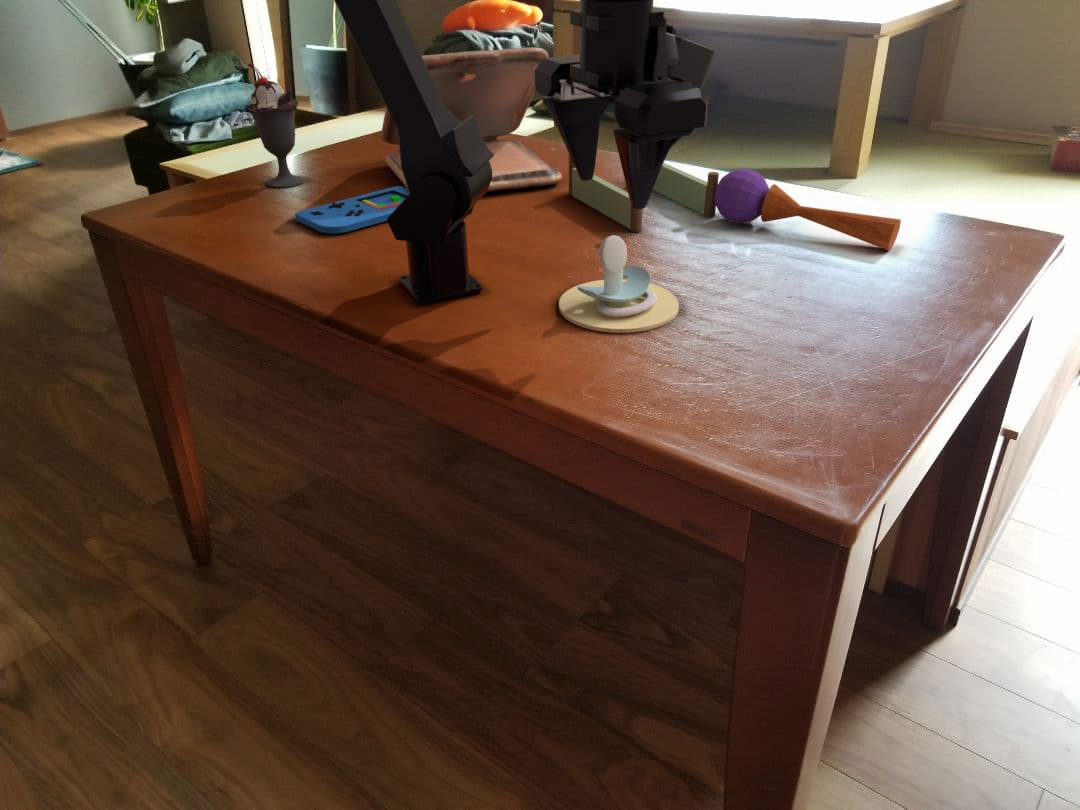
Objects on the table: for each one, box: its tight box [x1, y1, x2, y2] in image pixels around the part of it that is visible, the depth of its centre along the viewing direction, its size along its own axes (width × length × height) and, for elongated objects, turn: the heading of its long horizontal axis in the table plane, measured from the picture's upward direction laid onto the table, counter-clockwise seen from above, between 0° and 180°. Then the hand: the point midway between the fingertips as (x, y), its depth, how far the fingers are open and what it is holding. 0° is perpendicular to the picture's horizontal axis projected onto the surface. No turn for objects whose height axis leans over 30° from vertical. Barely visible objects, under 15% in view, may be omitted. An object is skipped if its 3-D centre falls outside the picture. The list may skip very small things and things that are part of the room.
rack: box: [568, 153, 720, 233], centre depth 103 cm, size 16×11×5 cm
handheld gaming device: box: [294, 185, 410, 235], centre depth 103 cm, size 8×1×15 cm
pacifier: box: [578, 234, 657, 316], centre depth 78 cm, size 7×6×6 cm
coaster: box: [558, 278, 680, 334], centre depth 80 cm, size 11×11×1 cm
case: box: [380, 47, 563, 193], centre depth 113 cm, size 20×21×16 cm
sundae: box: [244, 62, 306, 189], centre depth 112 cm, size 7×7×15 cm
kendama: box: [715, 167, 902, 252], centre depth 94 cm, size 6×6×20 cm
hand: (611, 193), depth 76 cm, fingers open, 9 cm apart
